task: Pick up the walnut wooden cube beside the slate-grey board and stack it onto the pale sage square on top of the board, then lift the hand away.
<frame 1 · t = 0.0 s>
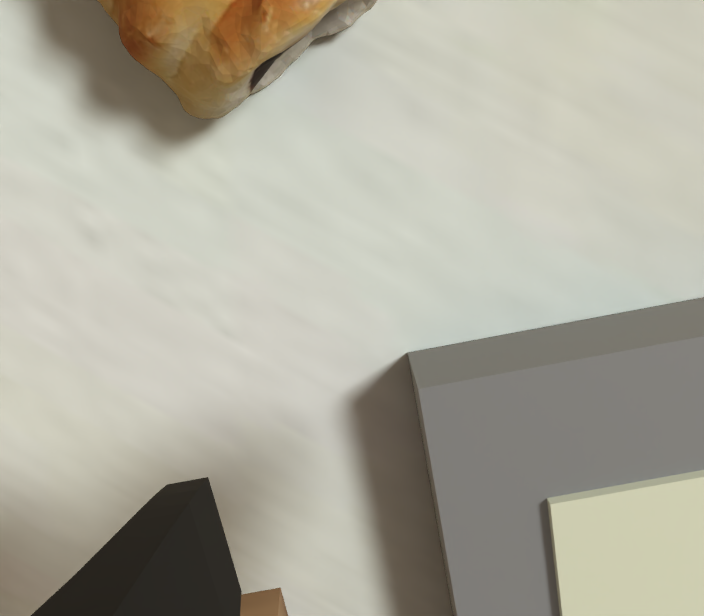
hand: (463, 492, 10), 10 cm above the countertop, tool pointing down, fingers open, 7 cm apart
slate board: (655, 534, 22), on the countertop
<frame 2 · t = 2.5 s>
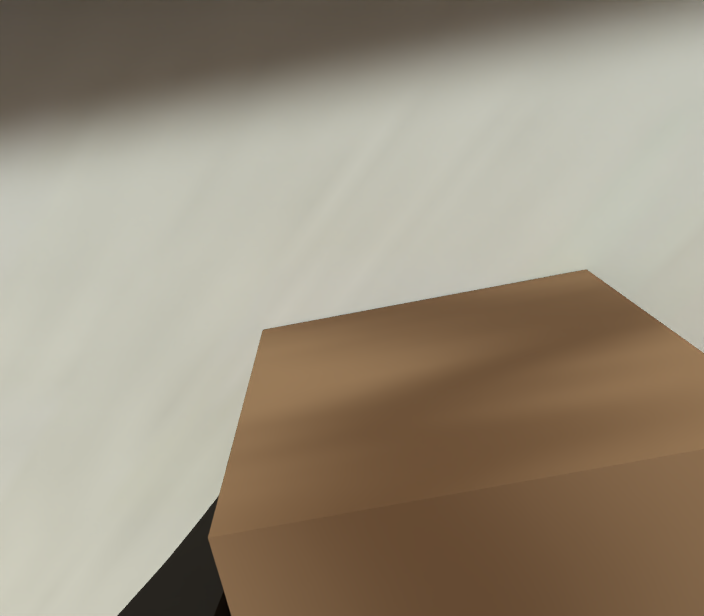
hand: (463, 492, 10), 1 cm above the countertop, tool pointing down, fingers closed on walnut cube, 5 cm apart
walnut cube: (446, 442, 11), on the countertop, touching gripper
when the fingers open (5 cm above the countertop, at t = 6.3 s): walnut cube stays where it is, resting on slate board.
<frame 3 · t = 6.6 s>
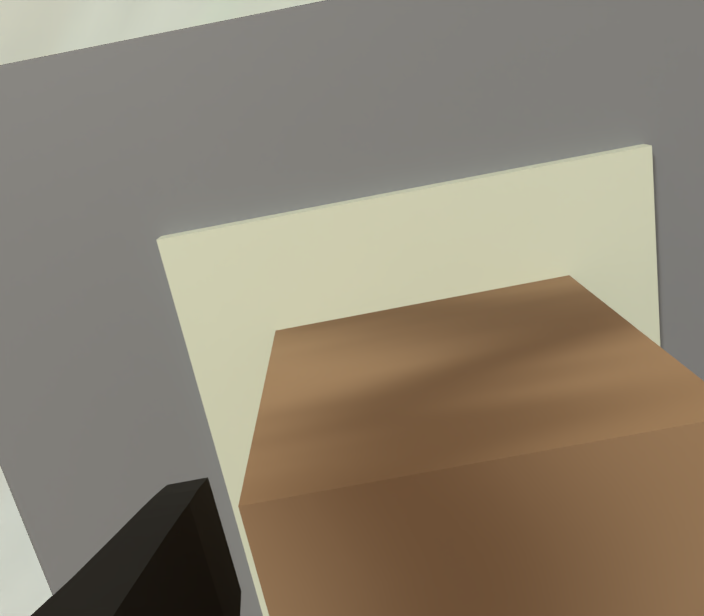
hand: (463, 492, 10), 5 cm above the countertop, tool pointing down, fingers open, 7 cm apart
slate board: (417, 355, 15), on the countertop
walnut cube: (442, 433, 12), point 3 cm above the countertop, touching slate board
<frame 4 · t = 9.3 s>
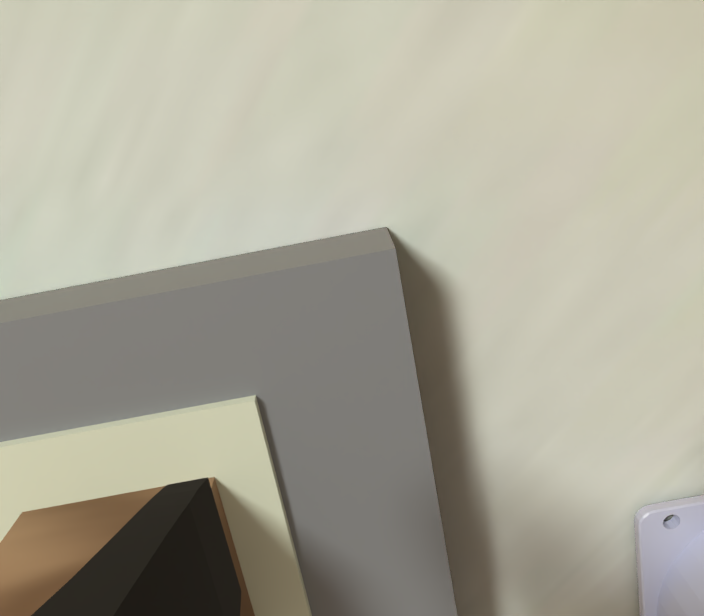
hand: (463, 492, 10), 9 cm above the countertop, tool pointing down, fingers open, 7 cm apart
slate board: (164, 500, 20), on the countertop
walnut cube: (145, 574, 18), point 3 cm above the countertop, touching slate board
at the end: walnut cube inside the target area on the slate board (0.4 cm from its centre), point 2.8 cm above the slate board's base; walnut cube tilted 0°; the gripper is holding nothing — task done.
